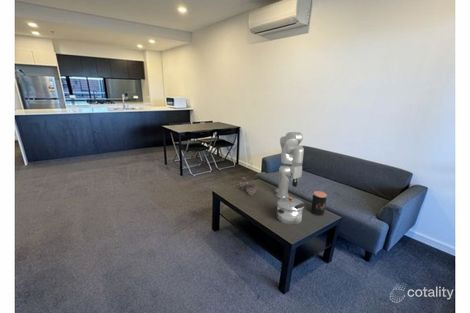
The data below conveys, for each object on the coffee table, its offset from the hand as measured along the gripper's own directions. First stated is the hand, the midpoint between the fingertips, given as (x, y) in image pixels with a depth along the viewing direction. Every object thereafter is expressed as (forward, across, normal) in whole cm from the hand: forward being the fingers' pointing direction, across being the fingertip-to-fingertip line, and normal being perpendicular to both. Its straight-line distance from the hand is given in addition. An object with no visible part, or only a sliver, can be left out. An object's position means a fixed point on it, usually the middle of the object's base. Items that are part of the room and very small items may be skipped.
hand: (294, 186), depth 173 cm
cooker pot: (+29, 0, -2) cm, 29 cm away
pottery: (+30, -5, -60) cm, 67 cm away
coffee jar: (+29, -27, +7) cm, 40 cm away
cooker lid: (+17, 0, -1) cm, 17 cm away
